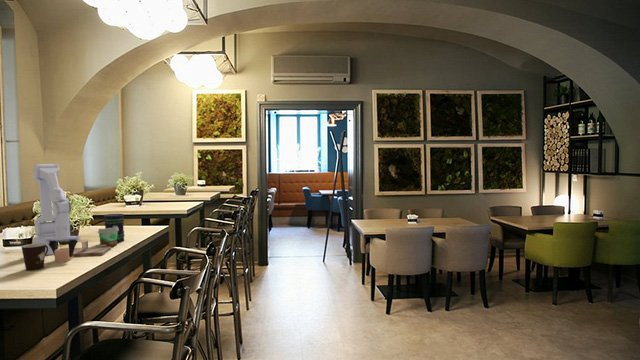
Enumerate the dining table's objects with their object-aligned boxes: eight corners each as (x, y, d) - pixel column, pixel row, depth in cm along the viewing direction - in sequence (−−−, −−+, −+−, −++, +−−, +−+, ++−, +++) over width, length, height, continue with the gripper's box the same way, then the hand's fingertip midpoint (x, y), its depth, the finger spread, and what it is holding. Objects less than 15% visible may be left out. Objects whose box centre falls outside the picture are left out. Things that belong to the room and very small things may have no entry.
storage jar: (128, 240, 253) (127, 213, 252) (116, 243, 243) (115, 216, 242) (113, 239, 255) (112, 213, 254) (101, 242, 245) (100, 215, 245)
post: (82, 250, 217) (81, 241, 217) (83, 250, 219) (83, 240, 219) (86, 250, 218) (86, 241, 217) (88, 249, 220) (87, 240, 219)
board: (57, 257, 210) (57, 254, 210) (68, 251, 224) (68, 248, 223) (102, 255, 213) (102, 252, 213) (111, 249, 227) (110, 246, 227)
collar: (54, 261, 202) (54, 250, 201) (59, 258, 207) (59, 248, 207) (68, 261, 203) (67, 250, 202) (72, 258, 208) (72, 247, 208)
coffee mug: (29, 272, 183) (27, 248, 182) (18, 269, 187) (17, 246, 187) (58, 266, 193) (57, 243, 192) (47, 263, 197) (46, 241, 197)
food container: (109, 248, 229) (108, 229, 228) (98, 248, 230) (97, 229, 230) (124, 244, 241) (123, 225, 240) (114, 243, 242) (113, 225, 242)
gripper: (41, 229, 199) (42, 259, 199) (76, 228, 201) (77, 257, 202) (48, 227, 206) (49, 256, 206) (82, 225, 208) (83, 254, 209)
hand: (63, 256), depth 205 cm, fingers closed on collar, 6 cm apart
